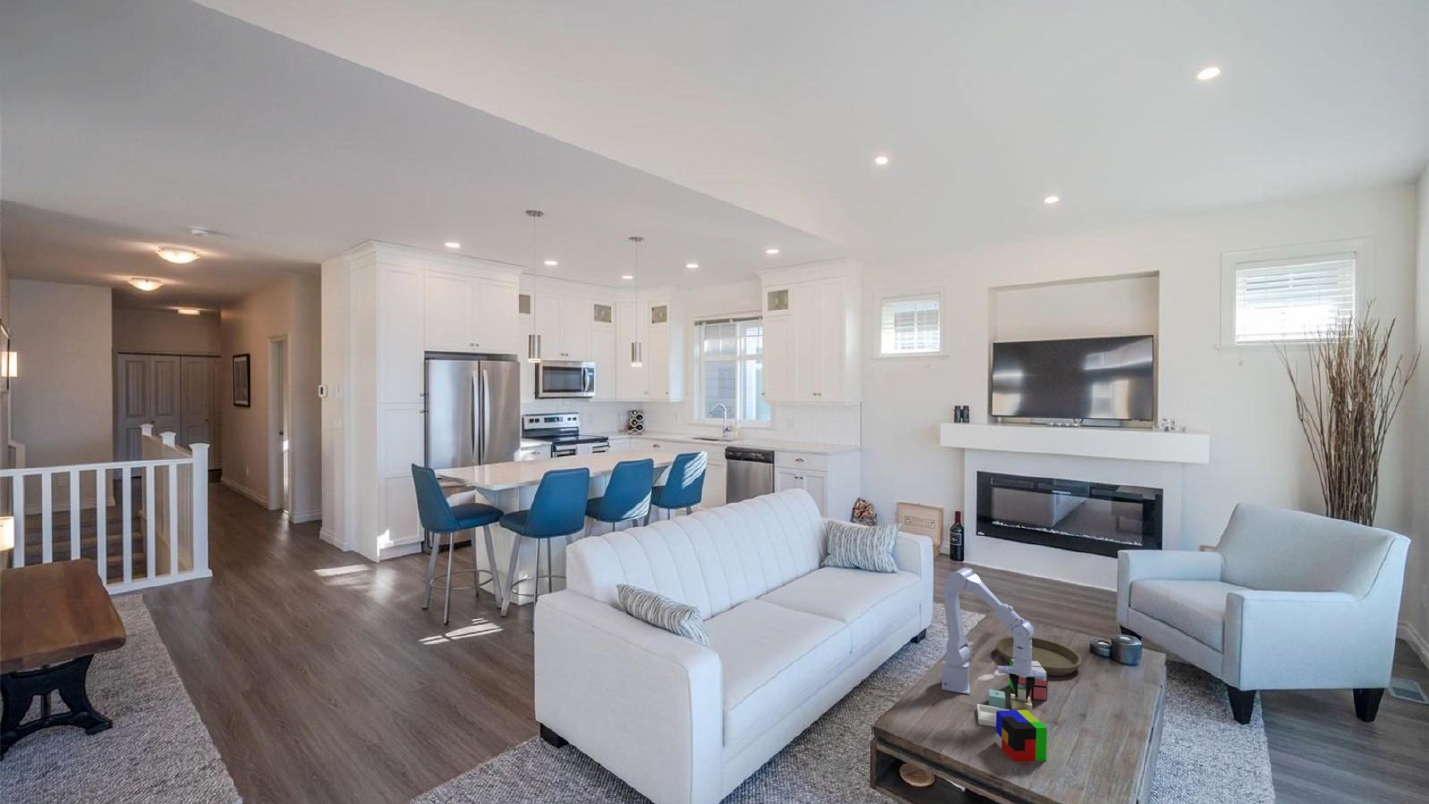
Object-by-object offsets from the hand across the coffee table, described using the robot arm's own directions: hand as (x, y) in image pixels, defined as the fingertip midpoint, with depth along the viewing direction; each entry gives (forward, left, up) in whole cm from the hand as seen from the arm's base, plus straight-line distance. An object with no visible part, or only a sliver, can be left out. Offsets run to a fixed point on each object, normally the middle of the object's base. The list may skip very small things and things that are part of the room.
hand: (1021, 696), depth 208 cm
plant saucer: (+11, +46, -5) cm, 48 cm away
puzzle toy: (-3, -26, -5) cm, 27 cm away
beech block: (0, 0, -5) cm, 5 cm away
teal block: (-7, +1, -5) cm, 9 cm away
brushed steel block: (0, 0, -4) cm, 4 cm away
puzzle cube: (+4, +15, -5) cm, 16 cm away
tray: (-9, -10, -5) cm, 14 cm away
